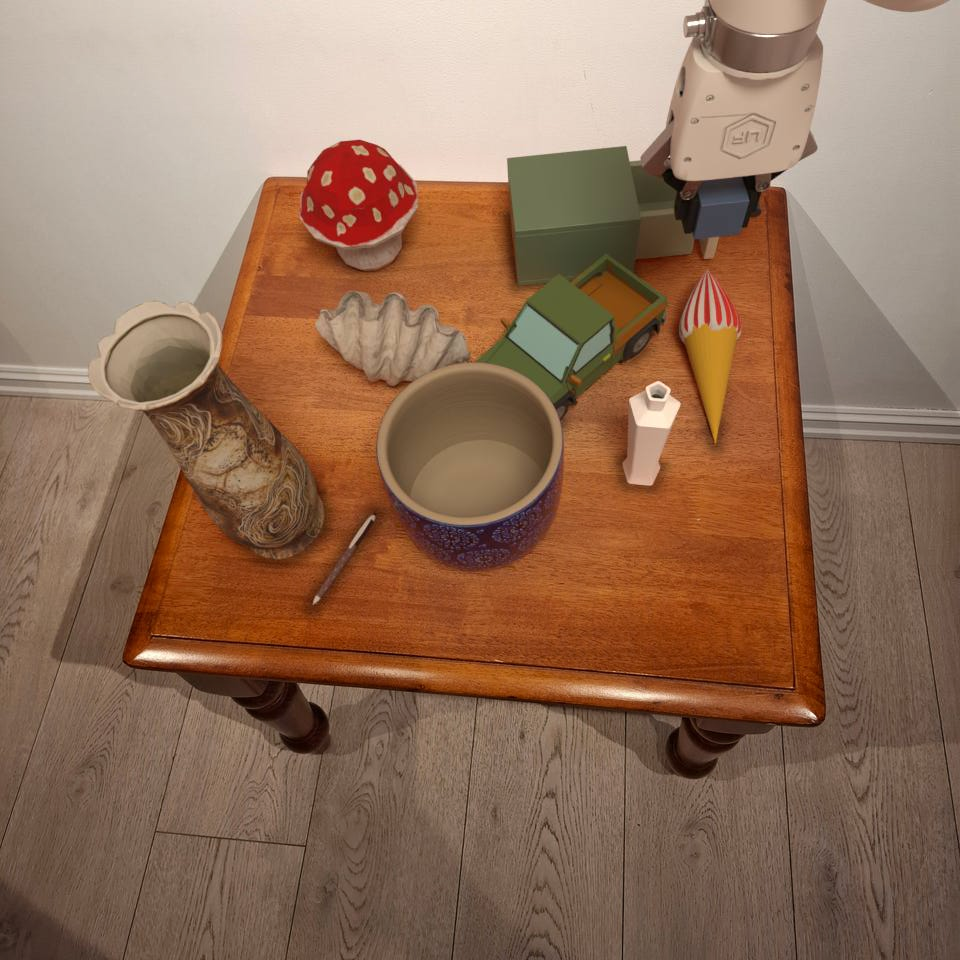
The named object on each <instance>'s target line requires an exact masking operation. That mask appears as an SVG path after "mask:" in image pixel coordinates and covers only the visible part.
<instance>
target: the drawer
mask: <svg viewBox="0 0 960 960" xmlns="http://www.w3.org/2000/svg"><path fill="white" fill-rule="evenodd" d="M668 158H670V156H669V157H668ZM629 161H630V160H629ZM630 166H631V171H632V176H633V181H634V186H635V191H636V196H637V201H638V205H639V210H640V215H641V224H640V231H639V238H638V245H637V252H636V259H635V260H640V259H641V260H643V259H652V258H662V257H673V256H682V255H691V254H693V250H694V243H695V240H696V239H694V238H693V234H692V233H690V234H685V233H684V229H683V225H682V221H681V220H676V218H675V214H674V204H675V199H676V193H677V191H676V190H675V189H673V188H672V187H671V186H669V185H668V184H667V183H665V182H664V179H662V178H660V177H659V178H657V177H655V176H653V175H651V174H648V173H646V172H644V171H643V168H642V164H641V159H639V160H631V161H630ZM762 212H763V211H762V207H761V203H760V202H759V203H758V206H757V209H756V211H755V212H752V213H751V217H750V218H751V219H754V218H758V217H760V216H761V214H762ZM719 239H720V237H712V238H702V239H698V241H699V245H700V249H701V250H700V251H701V254H702V258H703V260H706V259H707V260H708V259H715V254H716V251H717V246H718V243H719Z"/></svg>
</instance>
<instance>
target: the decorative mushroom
mask: <svg viewBox="0 0 960 960" xmlns="http://www.w3.org/2000/svg"><path fill="white" fill-rule="evenodd" d="M299 197H300V198H299V220H300V221H301V222H302V224H303V225H304V226H305V227H306V230H308V231H309V233H310V234H311V235H312V237H313V238H314V239H315V240H316V241H318V242H320V243H324V244H325V245H329V246H331V247H334V248H336V252H337V254H338V255H339V256H340V258H341V259H342V261H344V263H345V264H346V265H348V266H349V267H352V268H354V269H357V270H360V271H362V272H374V271H380V270H382V269H384V268H386V267H387V266H389V265H391V264H392V262H394V260H395V259H396V257H397V256H398V254H399V252H400V251H401V250H402V248H403V234H402V233H403V231H404V230H405V228H406V227H407V226H408V224H409V222H410V221H411V220H412V219H413V217H414V215H415V214H416V212H417V210H418V208H419V204H418V203H419V202H418V201H419V200H418V183H417V181H416V180H415V179H414V178H413V177H412V176H411V175H410V173H409V172H407V170H406V169H405V168H404V167H403V166H402V164H400V163H398V162H397V161H396V160H395V159H394V158H393V156H392V155H391V154H390V153H389V151H387V149H386V148H384V147H382V146H380V145H378V144H376V143H372V142H369V141H366V140H363V139H351V140H340V141H337V142H336V143H334V144H332V145H330V146H328V147H326V148H324V149H322V150H321V152H320V154H318V156H317V157H316V159H315V160H314V161H313V162H312V164H310V166H309V168H308V170H307V174H306V184H305V187H304V188H303V190H302V191H301V193H300V196H299Z"/></svg>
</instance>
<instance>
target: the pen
mask: <svg viewBox="0 0 960 960" xmlns="http://www.w3.org/2000/svg"><path fill="white" fill-rule="evenodd" d="M376 517H377V512H376V511H374V512H373V514H371V515H370V516H369V517H368V518H367V519H366V520H365V522H364V523H363V524H362V525H361V527H360V528H359V529H358V531H357V532H356V534H355V535H354V537H353V539H352V540H351V541H350V543H349V545H348V546H347V547H346V549H345V551H344V552H343V553H342V555H341V556H340V558H339V559H338V561H337V562H336V564H335V565H334V566H333V568H332V570H331V571H330V573H329V575H328V576H327V578H326V579H325V580H324V582H323V583H322V585H321V586H320V588H319V589H318V591H316V593H315V596H314V598H313V601H312V606H314V605H315V604H318V602H320V600H321V599H322V598H323V597H324V595H325V594H326V592H327V591H328V590H329V588H330V587H331V585H332V584H333V583H334V581H335V579H336V578H337V577H338V576H339V574H340V572H341V571H342V570H343V568H344V567H345V565H346V564H347V562H348V561H349V560H350V558H351V556H352V555H353V554H354V552H355V551H356V549H357V548H358V547H359V545H360V544H361V542H362V541H363V539H364V537H365V536H366V535H367V533H368V531H369V530H370V528H371V527H372V526H373V524H374V522H375V520H376Z"/></svg>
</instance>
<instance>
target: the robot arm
mask: <svg viewBox="0 0 960 960" xmlns="http://www.w3.org/2000/svg"><path fill="white" fill-rule="evenodd" d="M827 1H828V0H704V4H703V6H702V8H701V10H700V12H699V11H698V12H695V14H690V15H685V16H684V18H683V24H682V32H683V36H684V37H683V38H685V39H686V38H687V39H688V38H692V39H691V41H690V43H689V46H688V48H687V50H686V53H685V55H684V58H683V61H682V63H681V66H680V69H679V72H678V75H677V78H676V82H675V85H674V88H673V91H672V96H671V99H670V104H669V108H668V113H667V118H666V122H665V128H664V129H663V130H662V131H661V133H660V134H659V135H658V136H657V137H656V138H655V140H653V142H652V143H651V144H650V145H649V146H648V147H647V148H646V149H645V150H644V151H643V153H642V154H641V156H640V159H639V160H641V164H642V168H643V171H644V172H646V173H648V174H651V175H653V176H655V177H657V178H659V177H660V178H662V179H664V182H665V183H667V184H668V185H669V186H671V187H672V188H673V189H675V190H676V191H677V193H676V199H675V204H674V214H675V218H676V220H681V221H682V225H683V229H684V233H685V234H690V233H692V232H693V230H694V226H695V221H696V217H697V212H698V208H699V203H700V198H699V194H698V191H697V190H698V188H699V186H700V184H701V181H703V180H713V179H723V178H733V177H742V178H743V181H744V184H745V188H746V191H747V194H748V197H749V204H748V207H747V211H746V214H745V218H744V221H743V224H742V228H741V229H746V228H748V226H749V223H750V220H751V218H752V217H751V213H752V212H755V211H756V209H757V206H758V203H760V199H761V195H762V193H763V192H767V190H769V189H770V187H771V184H772V183H771V182H772V181H773V180H775V179H776V178H777V177H779V176H781V175H782V174H783V173H785V172H786V171H788V170H789V169H791V168H793V167H794V166H795V165H797V164H798V163H799V162H801V161H802V160H804V159H806V158H808V157H810V156H811V155H814V154H815V153H816V152H817V151H818V144H817V142H816V139H815V136H814V134H813V132H812V131H811V127H812V124H813V119H814V114H815V110H816V104H817V100H818V95H819V88H820V84H821V83H820V82H821V76H822V67H823V58H824V45H823V42H822V40H821V39H820V37H819V35H818V33H817V32H818V28H819V26H820V23H821V19H822V17H823V14H824V10H825V7H826V4H827ZM863 1H864V2H866V3H868V4H871V5H874V6H877V7H879V8H883V9H885V10H889V11H895V12H902V13H917V12H923V11H928V10H932V9H935V8H937V7H940V6H943V5H944V4H946V3H947V2H949V1H950V0H863ZM669 157H670V158H669Z"/></svg>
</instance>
